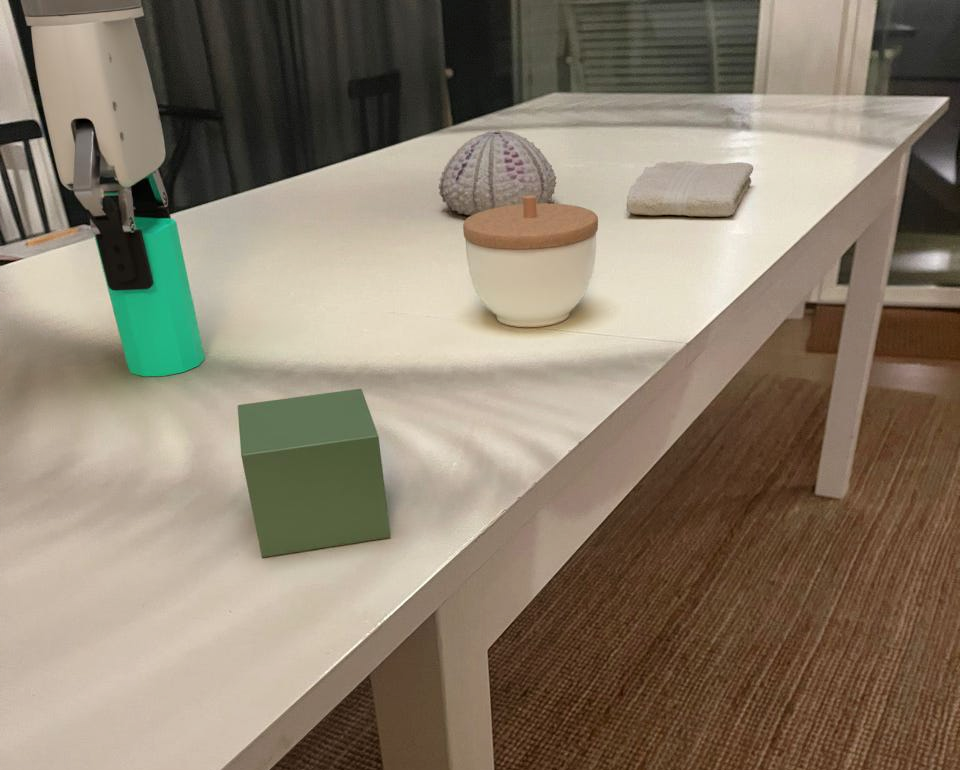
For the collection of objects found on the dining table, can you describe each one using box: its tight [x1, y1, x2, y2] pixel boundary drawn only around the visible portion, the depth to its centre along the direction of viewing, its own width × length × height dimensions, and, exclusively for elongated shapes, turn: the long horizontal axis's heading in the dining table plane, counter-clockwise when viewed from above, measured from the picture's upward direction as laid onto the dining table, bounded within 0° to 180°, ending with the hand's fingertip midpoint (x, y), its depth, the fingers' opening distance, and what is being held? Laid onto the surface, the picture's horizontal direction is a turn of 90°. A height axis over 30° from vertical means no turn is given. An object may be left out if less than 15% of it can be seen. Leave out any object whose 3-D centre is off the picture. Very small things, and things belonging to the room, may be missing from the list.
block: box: [237, 388, 391, 558], centre depth 57 cm, size 7×7×6 cm
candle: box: [93, 217, 206, 377], centre depth 79 cm, size 6×6×12 cm
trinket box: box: [462, 195, 599, 328], centre depth 84 cm, size 11×11×9 cm
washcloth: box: [626, 160, 754, 218], centre depth 117 cm, size 12×18×3 cm, turn 162°
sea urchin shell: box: [438, 130, 557, 217], centre depth 117 cm, size 13×14×8 cm
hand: (145, 273), depth 78 cm, fingers closed on candle, 5 cm apart
